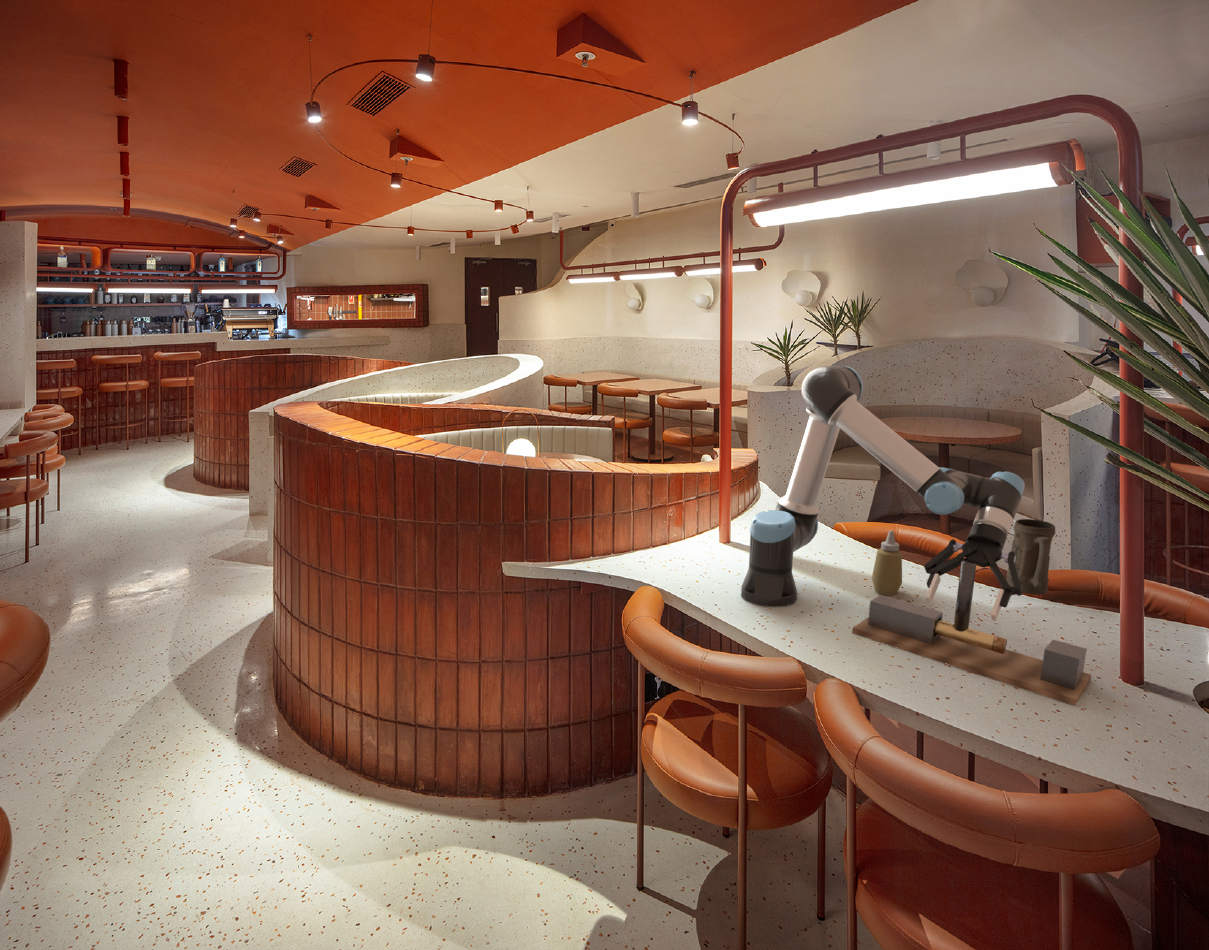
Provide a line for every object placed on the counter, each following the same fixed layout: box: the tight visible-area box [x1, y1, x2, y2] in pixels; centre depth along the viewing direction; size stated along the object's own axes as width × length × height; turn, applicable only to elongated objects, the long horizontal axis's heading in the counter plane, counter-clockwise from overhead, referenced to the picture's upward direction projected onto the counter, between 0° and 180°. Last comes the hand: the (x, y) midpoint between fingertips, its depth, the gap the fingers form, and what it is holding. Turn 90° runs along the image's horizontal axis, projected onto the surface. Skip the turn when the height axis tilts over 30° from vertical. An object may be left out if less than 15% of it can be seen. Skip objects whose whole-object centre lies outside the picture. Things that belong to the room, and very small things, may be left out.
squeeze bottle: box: [871, 530, 903, 596], centre depth 190 cm, size 8×8×18 cm
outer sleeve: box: [868, 594, 944, 644], centre depth 162 cm, size 15×6×6 cm, turn 45°
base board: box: [851, 616, 1092, 707], centre depth 154 cm, size 46×14×2 cm, turn 45°
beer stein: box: [1005, 518, 1056, 596], centre depth 191 cm, size 15×11×20 cm
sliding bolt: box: [934, 560, 1008, 654], centre depth 155 cm, size 27×3×19 cm, turn 45°
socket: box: [1040, 639, 1088, 690], centre depth 140 cm, size 6×7×7 cm
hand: (959, 608), depth 151 cm, fingers open, 13 cm apart
